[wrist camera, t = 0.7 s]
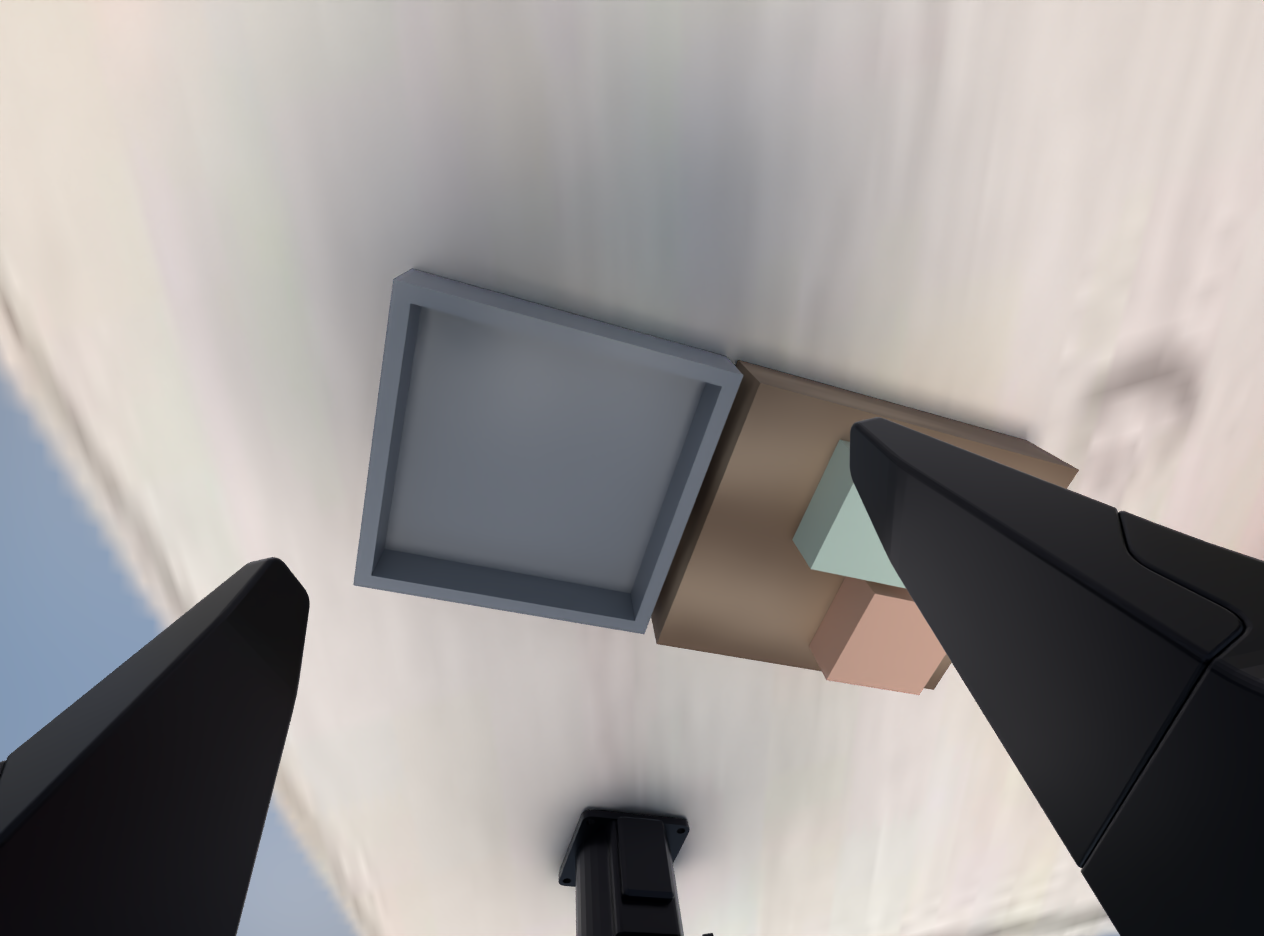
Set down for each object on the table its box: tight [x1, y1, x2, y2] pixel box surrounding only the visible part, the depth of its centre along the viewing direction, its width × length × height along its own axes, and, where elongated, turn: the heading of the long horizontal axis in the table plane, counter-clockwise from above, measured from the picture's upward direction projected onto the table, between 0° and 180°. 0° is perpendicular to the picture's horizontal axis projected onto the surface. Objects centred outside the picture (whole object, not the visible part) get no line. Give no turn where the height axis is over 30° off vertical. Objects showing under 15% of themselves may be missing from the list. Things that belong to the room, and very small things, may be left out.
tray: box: [353, 269, 743, 634], centre depth 23 cm, size 12×12×2 cm
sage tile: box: [792, 440, 906, 588], centre depth 23 cm, size 4×4×2 cm
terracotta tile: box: [809, 576, 946, 695], centre depth 25 cm, size 4×4×2 cm
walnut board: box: [651, 360, 1079, 690], centre depth 26 cm, size 12×14×3 cm
